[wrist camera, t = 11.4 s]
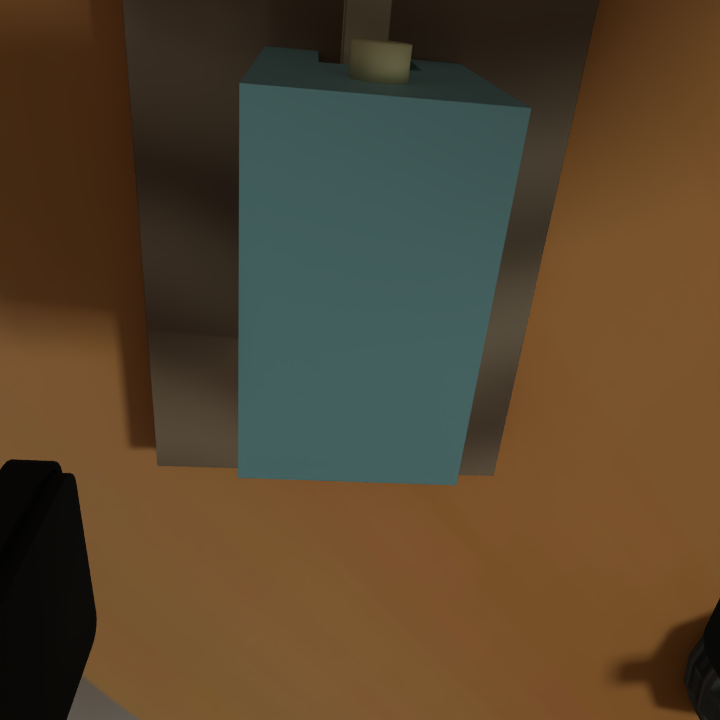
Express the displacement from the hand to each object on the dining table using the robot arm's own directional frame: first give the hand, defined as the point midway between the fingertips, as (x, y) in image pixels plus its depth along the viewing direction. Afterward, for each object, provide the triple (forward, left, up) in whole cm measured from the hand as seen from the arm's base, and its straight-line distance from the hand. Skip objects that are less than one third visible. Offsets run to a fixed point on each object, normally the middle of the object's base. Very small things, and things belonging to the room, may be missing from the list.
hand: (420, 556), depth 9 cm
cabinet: (0, 0, -16) cm, 16 cm away
